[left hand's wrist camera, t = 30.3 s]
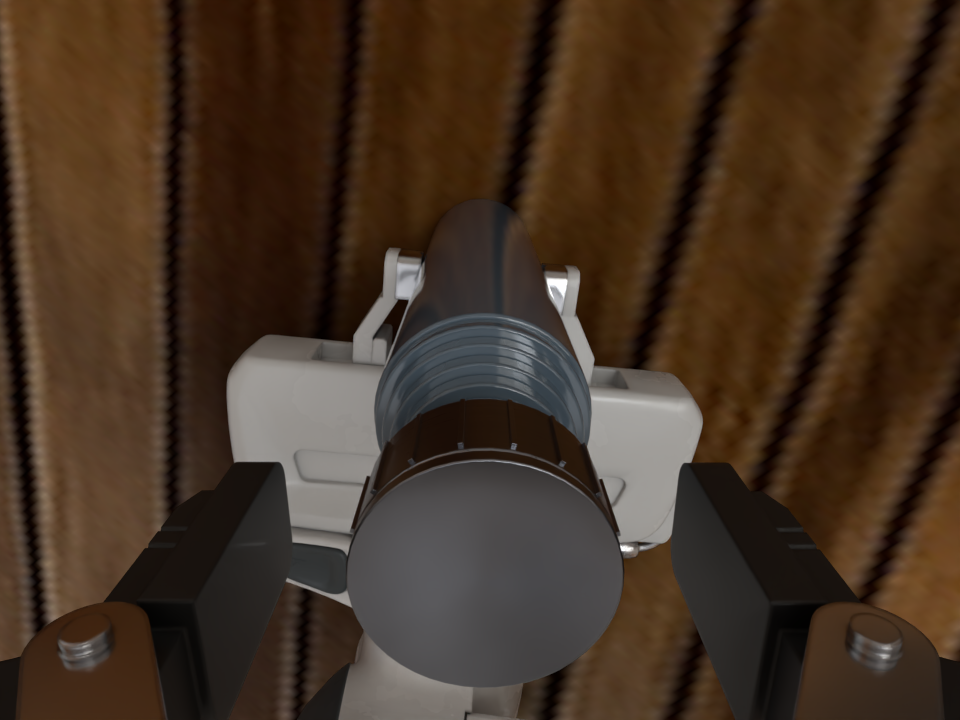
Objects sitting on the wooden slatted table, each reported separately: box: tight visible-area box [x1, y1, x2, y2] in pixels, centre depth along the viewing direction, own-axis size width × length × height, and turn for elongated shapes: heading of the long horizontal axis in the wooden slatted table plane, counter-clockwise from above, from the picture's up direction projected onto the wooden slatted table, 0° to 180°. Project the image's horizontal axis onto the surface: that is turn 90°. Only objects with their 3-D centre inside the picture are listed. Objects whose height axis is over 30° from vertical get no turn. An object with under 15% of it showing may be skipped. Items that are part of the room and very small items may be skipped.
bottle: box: [374, 199, 592, 452], centre depth 22 cm, size 5×5×24 cm
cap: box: [346, 399, 624, 688], centre depth 11 cm, size 4×4×2 cm
